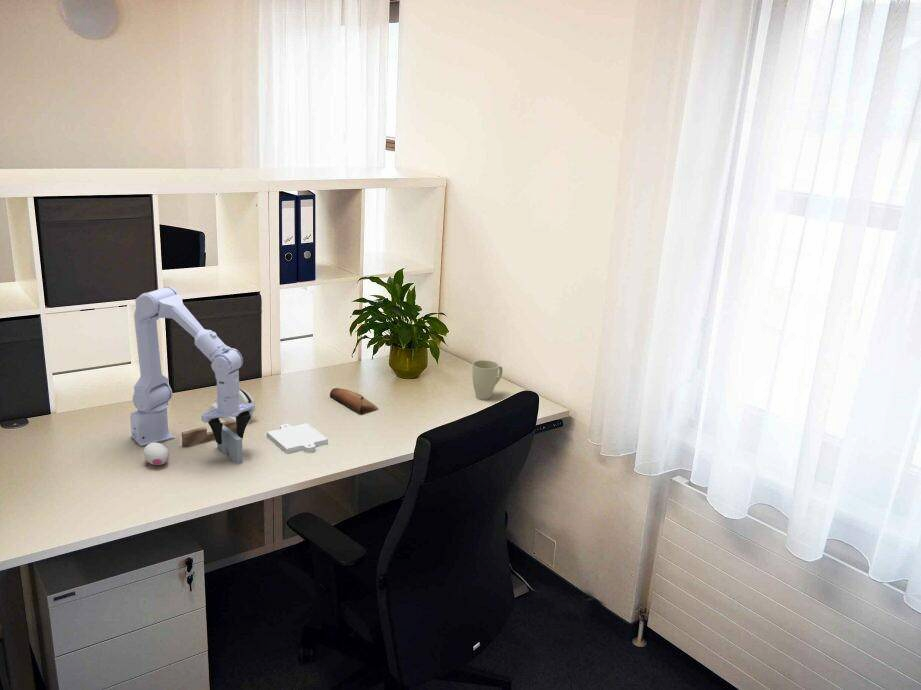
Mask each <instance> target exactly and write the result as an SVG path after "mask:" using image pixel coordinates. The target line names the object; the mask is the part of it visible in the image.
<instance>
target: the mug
mask: <svg viewBox="0 0 921 690" xmlns="http://www.w3.org/2000/svg"><path fill="white" fill-rule="evenodd" d="M502 375H503V367H502V366H501V365H499V363H498V362H495V361H492V360H486V359H480V360H475V361H473V362H472V384H473V390H474V394H475V397H476V398H477V399H478V400H482V401H483V400H484V401H486V400H490V399H491V397H492V394H493V391H494V390H495V387H496V385H497V384H498V383H499V381H500V380H501V378H502Z"/></svg>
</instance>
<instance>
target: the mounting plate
mask: <svg viewBox="0 0 921 690" xmlns="http://www.w3.org/2000/svg"><path fill="white" fill-rule="evenodd" d="M266 437H267V438H268V440H270V441H271V442H272V443H274V444H275V445H276V446H277V447H278V448H279V449H281V450H282V451H283V452H284V454H286V455H288V454H293V453H296V452H300V451H303V452H305V453H307V454H309V453H314V452H316V447H320V446H324V445H328V444H329V438H327V437H326V436H324V435H323V434H322V433H321V432H320V431H318V430H317V429H316V428H314V427H313V426H311V425H310V424H309V423H307V422H306V423H301V424H296V425H291V424H290V423H284V424H281V425H279V429H274V430H269V431H266Z"/></svg>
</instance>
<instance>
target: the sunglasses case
mask: <svg viewBox="0 0 921 690" xmlns="http://www.w3.org/2000/svg"><path fill="white" fill-rule="evenodd" d="M329 397H330V398H331V399H334V400H335V401H338V402H340V403H342V404H343V405H345V406H347V407H348V408H351V409H352V410H354V411H355V412H357V413H359V414H360V415H366V414H369V413H373V412H376V411H379V410H378V409H379V407H378V406H376V405H375V404H374V403H373V402H371V401H370V400H368V399H367V398H365V397H364V396H363V395H362V394H360V393H358V392H355V391H352V390H349V389H345V388H340V387H335V388H332V389H331V390H330V392H329Z"/></svg>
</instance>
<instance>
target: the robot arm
mask: <svg viewBox="0 0 921 690" xmlns="http://www.w3.org/2000/svg"><path fill="white" fill-rule="evenodd" d="M134 301H135V311H134V313H133V314H134V315H133V317H134V318H133V320H134V328H135V335H136V343H137V344H136V346H137V354H138V356H137V357H138V364H139V365H138V366H139V374H140V377H139V379H138V380H137V381H136V383H135V384H134V385H133V390H134V392H133V395H132V403H133V405H134V408H135V409H137V410H135V411H133V412H132V411H131V412H130V437H131V438H132V439H133V440H134V441H135V442H136V443H137V444H138V445H139V446H147V445H148V444H150V443H154V442H156V443H161V442H164V441H168V440H172V439H175V437H174V435H173V434H172V433H171V432H169V421H168V418H169V417H168V406H169V402H170V400H171V399H172V397H173V390H172V388H171V386H170V383H169V378H168V377H167V376H165V375H163V374H162V365H161V355H160V353H161V352H160V343H159V334H158V333H159V332H158V323H157V321H158V320H159V319H172V320H174V321H175V322H176V323H177V324H178V325H179V326H181V328H182V329H184V331H186V332H188V334H190V335H191V337H193V338H194V346H196V348H197V349H199V351H200V352H201V353H202V354H203V355H204V356H205V357H206V358H207V359H208V360H209V361H210V362H211V363H210V366H211V369H212V371H213V372H214V374H215V375H214V376H215V381H216V398H217V406H218V408H216V409H214V410H212V411H210V410H209V411H207V412H204V413H201V421H202V422H203V423H204V424H206V423H207V424H208V425H209V427H210V428H211V432H212V431H213V433H214V436H215V443H218V444H219V445H220V444H222V426H223V424H222V423H223V422H222V421H221V420H220V419H222V418H224V417H228V416H231V417H236V424H237V434H236V435H238V436H239V437H240V438H242V440H243V439H244V434H245V432H246V428H247V426H248V425H249V424H248V422H249V420H250V419H251V420H252V418H251V415H250V414H249V411H251V412H253V413H254V412H255V410H256V408H255V407H256V406H255V405H254V404H252V403H247V404H239V388H240V376H239V375H240V370H239V369H240V368H241V367H242V366H243V364H244V363H243V362H244V358H243V356H242V354H241V352H240V351H239V350H238V349H236V348H232V347H230V346H228V345H227V344H225V343H224V342H223V341H222V339H221V338H220V337H219V336H218V334H217V333H216V331H213V330H211V329H205V328H204V327H203V326H202V325H201V323H200V322H199V321H198V320H197V319H196V317H195V316H194V314H192V313H191V312H190V310H189V309H188V308H187V306H185V305H184V302H183V297H182V296H181V294H179V293H178V292H177V290H176V289H175V288H174V287H172V286H164V287H162V288H158V289H155V290H151V291H148V292H144V293H141V294H140V295H139V296H138V297H137V298H136V299H134Z"/></svg>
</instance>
